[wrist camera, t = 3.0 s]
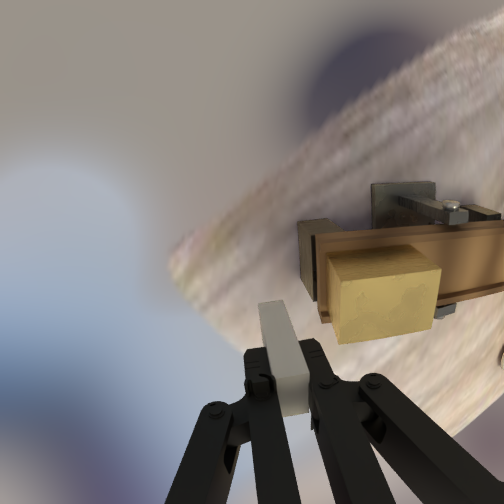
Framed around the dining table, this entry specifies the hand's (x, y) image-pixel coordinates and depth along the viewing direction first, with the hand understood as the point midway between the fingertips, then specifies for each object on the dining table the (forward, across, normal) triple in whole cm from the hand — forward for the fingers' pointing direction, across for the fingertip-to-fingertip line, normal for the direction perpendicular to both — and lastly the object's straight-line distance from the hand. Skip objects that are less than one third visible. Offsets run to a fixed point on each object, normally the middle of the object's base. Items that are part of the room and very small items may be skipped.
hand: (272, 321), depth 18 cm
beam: (+4, -16, 0) cm, 17 cm away
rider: (+4, -8, 0) cm, 9 cm away
